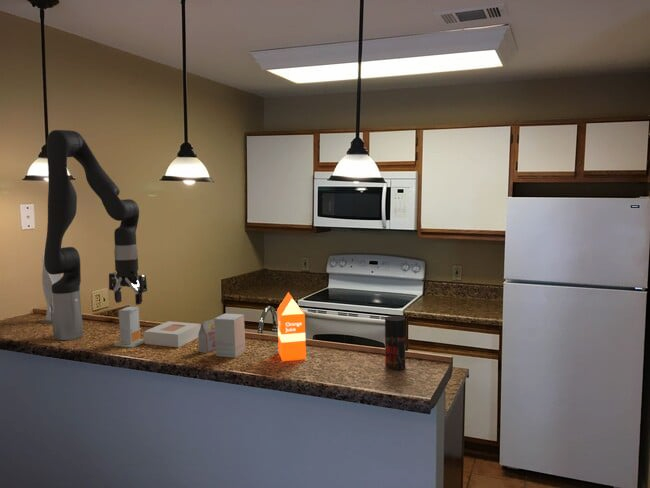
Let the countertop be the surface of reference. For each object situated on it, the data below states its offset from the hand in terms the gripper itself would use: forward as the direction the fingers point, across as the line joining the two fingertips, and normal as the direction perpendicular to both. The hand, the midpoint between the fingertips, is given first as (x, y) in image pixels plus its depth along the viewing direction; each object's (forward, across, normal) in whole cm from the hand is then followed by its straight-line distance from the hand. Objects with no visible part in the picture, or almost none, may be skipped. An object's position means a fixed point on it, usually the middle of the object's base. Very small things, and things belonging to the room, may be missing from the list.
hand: (128, 303), depth 189 cm
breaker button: (+14, +13, +8) cm, 20 cm away
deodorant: (+13, +94, +2) cm, 95 cm away
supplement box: (+14, +40, -1) cm, 43 cm away
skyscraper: (+16, -52, +17) cm, 57 cm away
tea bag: (+14, +32, +2) cm, 35 cm away
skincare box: (+14, 0, 0) cm, 14 cm away
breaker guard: (+14, +12, +8) cm, 20 cm away
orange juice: (+14, +60, +3) cm, 62 cm away
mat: (+14, 0, 0) cm, 14 cm away
